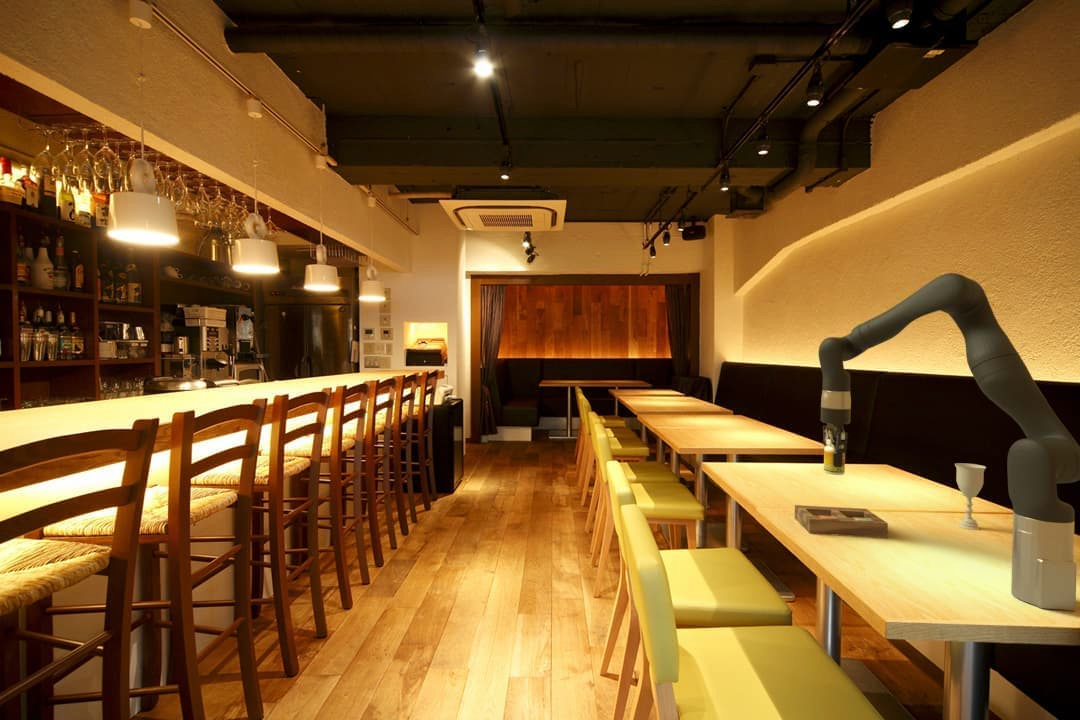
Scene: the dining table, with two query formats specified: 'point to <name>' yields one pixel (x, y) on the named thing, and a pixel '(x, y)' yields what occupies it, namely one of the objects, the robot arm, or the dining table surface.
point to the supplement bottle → (829, 461)
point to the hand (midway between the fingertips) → (834, 464)
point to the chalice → (969, 489)
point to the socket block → (841, 521)
